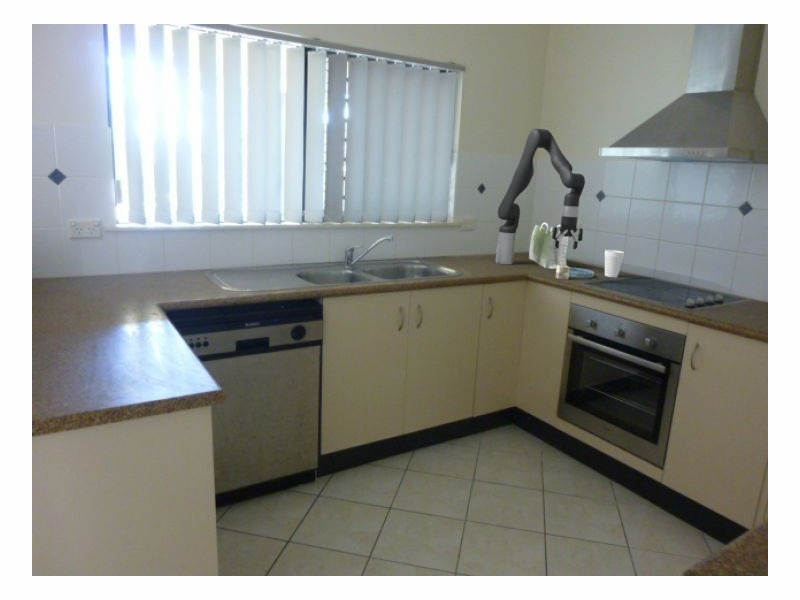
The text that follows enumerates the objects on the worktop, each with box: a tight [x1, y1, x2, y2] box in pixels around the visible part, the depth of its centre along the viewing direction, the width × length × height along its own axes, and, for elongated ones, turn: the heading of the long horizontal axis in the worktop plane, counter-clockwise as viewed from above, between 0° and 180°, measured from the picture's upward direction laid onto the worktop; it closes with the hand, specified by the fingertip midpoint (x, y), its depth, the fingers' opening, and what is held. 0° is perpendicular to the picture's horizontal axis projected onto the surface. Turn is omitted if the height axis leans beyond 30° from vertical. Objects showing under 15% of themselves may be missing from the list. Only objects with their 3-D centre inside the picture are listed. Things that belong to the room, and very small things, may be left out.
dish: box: [569, 267, 595, 279], centre depth 292 cm, size 16×16×2 cm
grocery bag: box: [528, 222, 570, 269], centre depth 321 cm, size 32×14×23 cm, turn 5°
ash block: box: [555, 265, 571, 280], centre depth 281 cm, size 5×5×6 cm
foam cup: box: [604, 249, 625, 278], centre depth 294 cm, size 10×9×13 cm
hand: (565, 248), depth 278 cm, fingers open, 8 cm apart
